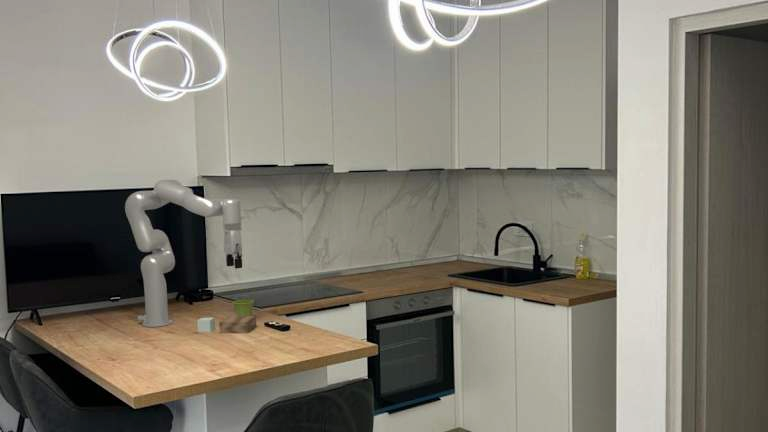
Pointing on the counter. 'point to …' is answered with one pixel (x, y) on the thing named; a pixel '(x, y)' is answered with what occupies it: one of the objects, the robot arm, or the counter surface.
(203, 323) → the white small block
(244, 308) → the plant pot
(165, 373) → the counter surface
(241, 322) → the walnut block
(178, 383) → the counter surface
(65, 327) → the counter surface
